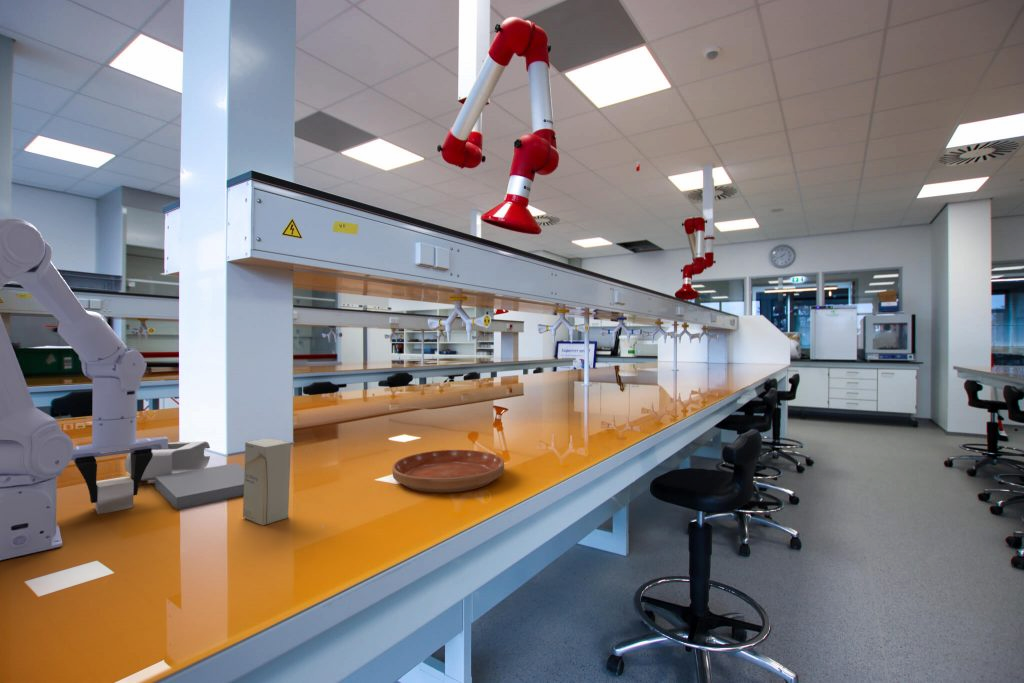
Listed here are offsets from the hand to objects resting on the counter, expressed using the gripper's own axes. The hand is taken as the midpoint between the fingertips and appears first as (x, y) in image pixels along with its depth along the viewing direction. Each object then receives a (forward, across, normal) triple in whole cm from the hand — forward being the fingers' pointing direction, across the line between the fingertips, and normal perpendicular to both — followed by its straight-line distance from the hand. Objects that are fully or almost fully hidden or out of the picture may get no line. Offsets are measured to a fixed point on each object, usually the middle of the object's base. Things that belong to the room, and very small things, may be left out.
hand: (114, 497), depth 78 cm
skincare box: (+2, -16, +24) cm, 29 cm away
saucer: (+2, -50, +28) cm, 57 cm away
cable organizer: (+2, -10, -17) cm, 20 cm away
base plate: (+2, -14, 0) cm, 14 cm away
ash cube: (+2, 0, 0) cm, 2 cm away
